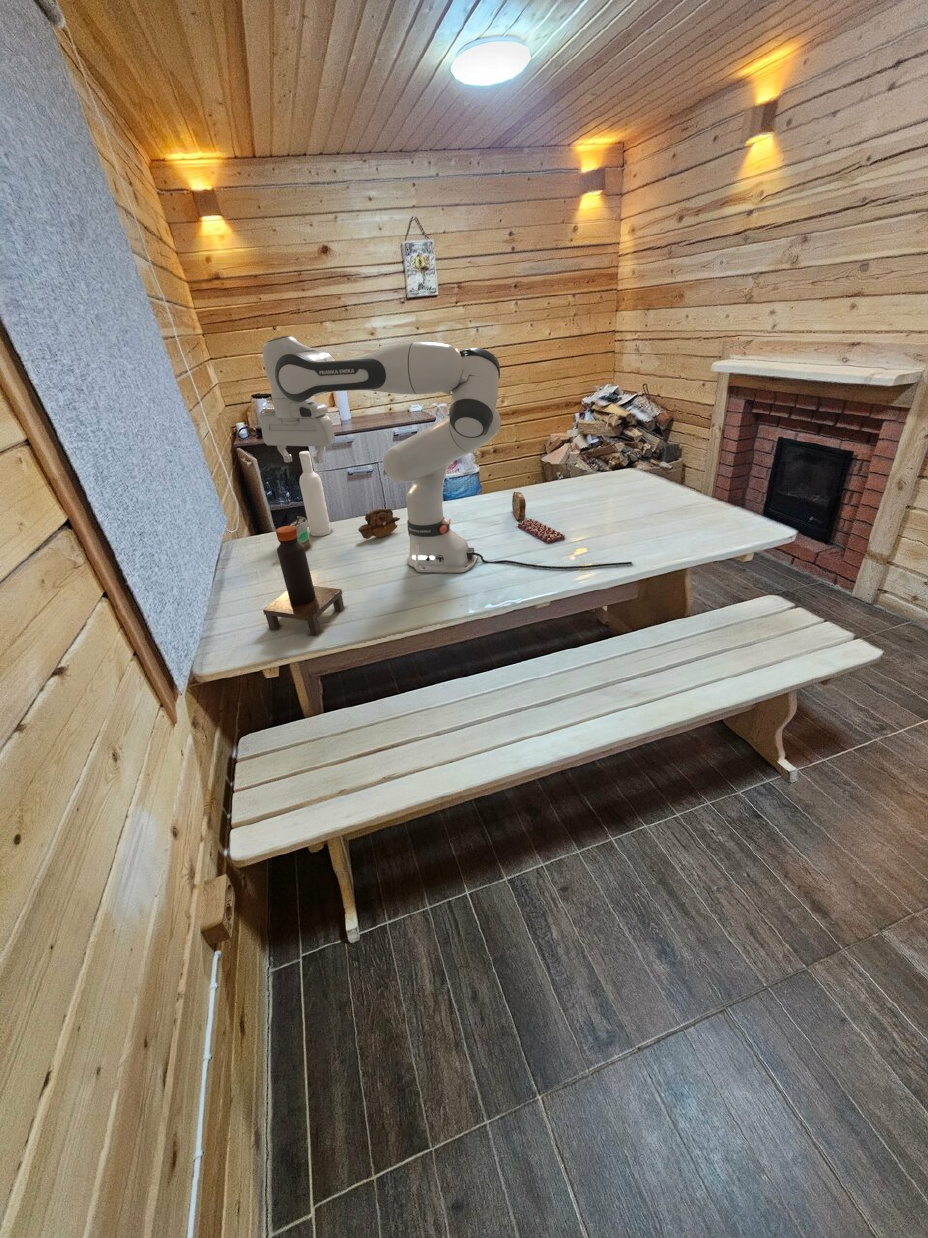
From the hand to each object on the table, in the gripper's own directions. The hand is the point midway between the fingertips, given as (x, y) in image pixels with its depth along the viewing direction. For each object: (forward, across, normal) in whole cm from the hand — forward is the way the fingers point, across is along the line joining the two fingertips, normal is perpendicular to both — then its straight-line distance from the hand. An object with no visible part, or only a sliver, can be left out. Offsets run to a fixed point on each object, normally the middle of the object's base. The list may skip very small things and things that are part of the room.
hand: (303, 462), depth 141 cm
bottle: (+37, -25, +37) cm, 58 cm away
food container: (+37, -23, +22) cm, 49 cm away
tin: (+37, +45, +67) cm, 89 cm away
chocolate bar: (+37, +56, +52) cm, 85 cm away
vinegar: (+31, +5, -20) cm, 37 cm away
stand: (+37, +5, -20) cm, 42 cm away
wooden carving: (+37, 0, +38) cm, 53 cm away
